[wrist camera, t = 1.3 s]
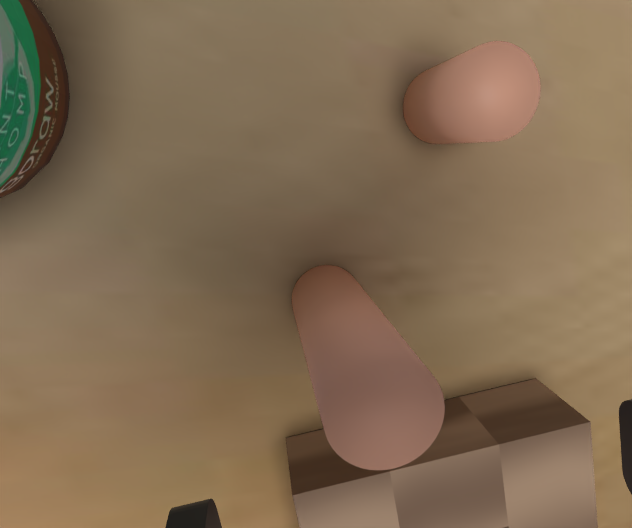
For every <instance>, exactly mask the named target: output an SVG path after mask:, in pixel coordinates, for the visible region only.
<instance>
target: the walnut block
mask: <svg viewBox="0 0 632 528" xmlns="http://www.w3.org/2000/svg"><path fill="white" fill-rule="evenodd" d="M444 404H445V412H444V419H443V423H442V426H441V429H440V431H439V433H438V435H437V437H436V439H435V440H434V442H433V443H432V444H431V446H430V447H429V448H428V449H427V450H426V451H425V452H424V453H423V454H422V455H420V456H419V457H418V458H416V459H415V460H413V461H411V462H410V463H408V464H405V465H403V466H400V467H397V468H394V469H388V470H368V469H363V468H360V467H357V466H354V465H352V464H350V463H348V462H347V461H345V460H344V459H342V458H341V457H340V456H339V455H338V454H337V453H336V452H335V451H334V450H333V448H332V447H331V445H330V444H329V442H328V440H327V437H326V435H325V431H324V429H321V430H317V431H313V432H309V433H305V434H300V435H296V436H292V437H288V438H286V445H287V453H288V462H289V470H290V479H291V487H292V496H293V500H294V504H295V509H296V513H297V518H298V522H299V526H300V528H598V525H597V510H596V496H595V481H594V467H593V452H592V438H591V423H590V421H589V420H587V419H586V418H585V417H584V416H582V415H581V414H580V413H579V412H577V411H576V410H575V409H574V408H572V407H571V406H570V405H569V404H567V403H566V402H565V401H564V400H562V399H561V398H560V397H559V396H557V395H556V394H555V393H553V392H552V391H551V390H550V389H548V388H547V387H546V386H545V385H543V384H542V383H541V382H540V381H538V380H537V379H532V380H528V381H523V382H519V383H515V384H511V385H507V386H502V387H498V388H494V389H490V390H485V391H481V392H477V393H473V394H469V395H464V396H460V397H456V398H452V399H448V400H444Z"/></svg>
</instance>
